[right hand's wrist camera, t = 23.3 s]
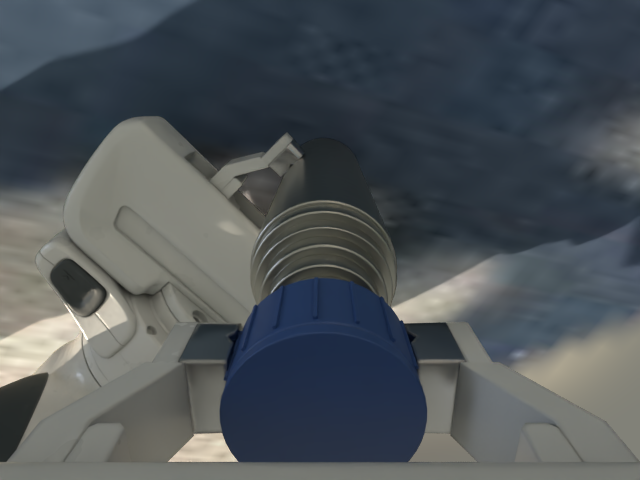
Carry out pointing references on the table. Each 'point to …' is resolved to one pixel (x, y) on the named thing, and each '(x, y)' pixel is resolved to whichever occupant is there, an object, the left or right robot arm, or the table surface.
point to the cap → (323, 379)
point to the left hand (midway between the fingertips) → (334, 183)
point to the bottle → (323, 227)
